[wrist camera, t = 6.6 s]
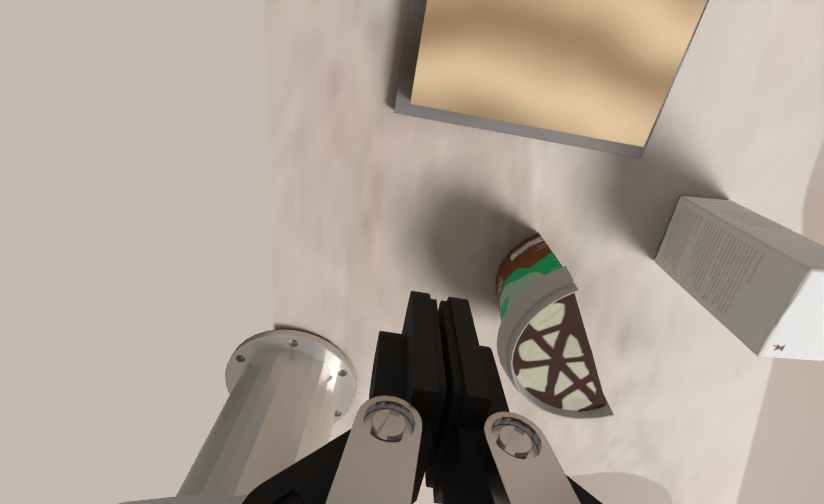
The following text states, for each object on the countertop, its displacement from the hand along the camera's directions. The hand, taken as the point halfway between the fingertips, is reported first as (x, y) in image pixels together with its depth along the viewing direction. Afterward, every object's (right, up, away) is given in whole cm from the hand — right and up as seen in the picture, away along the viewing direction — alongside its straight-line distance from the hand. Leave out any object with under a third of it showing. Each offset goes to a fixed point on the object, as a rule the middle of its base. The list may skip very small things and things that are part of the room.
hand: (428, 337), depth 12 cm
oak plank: (+8, +16, +14) cm, 23 cm away
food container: (+9, -1, +24) cm, 26 cm away
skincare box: (+22, +4, +21) cm, 31 cm away
